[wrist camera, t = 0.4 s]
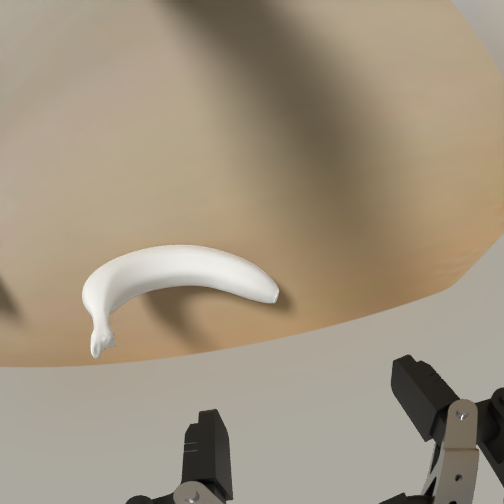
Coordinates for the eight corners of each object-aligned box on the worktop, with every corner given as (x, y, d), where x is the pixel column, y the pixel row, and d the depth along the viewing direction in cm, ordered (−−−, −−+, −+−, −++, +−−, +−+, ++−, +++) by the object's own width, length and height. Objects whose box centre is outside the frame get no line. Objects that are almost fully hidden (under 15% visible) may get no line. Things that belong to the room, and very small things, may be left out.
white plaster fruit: (269, 280, 35) (303, 370, 22) (109, 275, 32) (67, 362, 19) (274, 242, 33) (317, 322, 20) (105, 236, 30) (50, 313, 17)
